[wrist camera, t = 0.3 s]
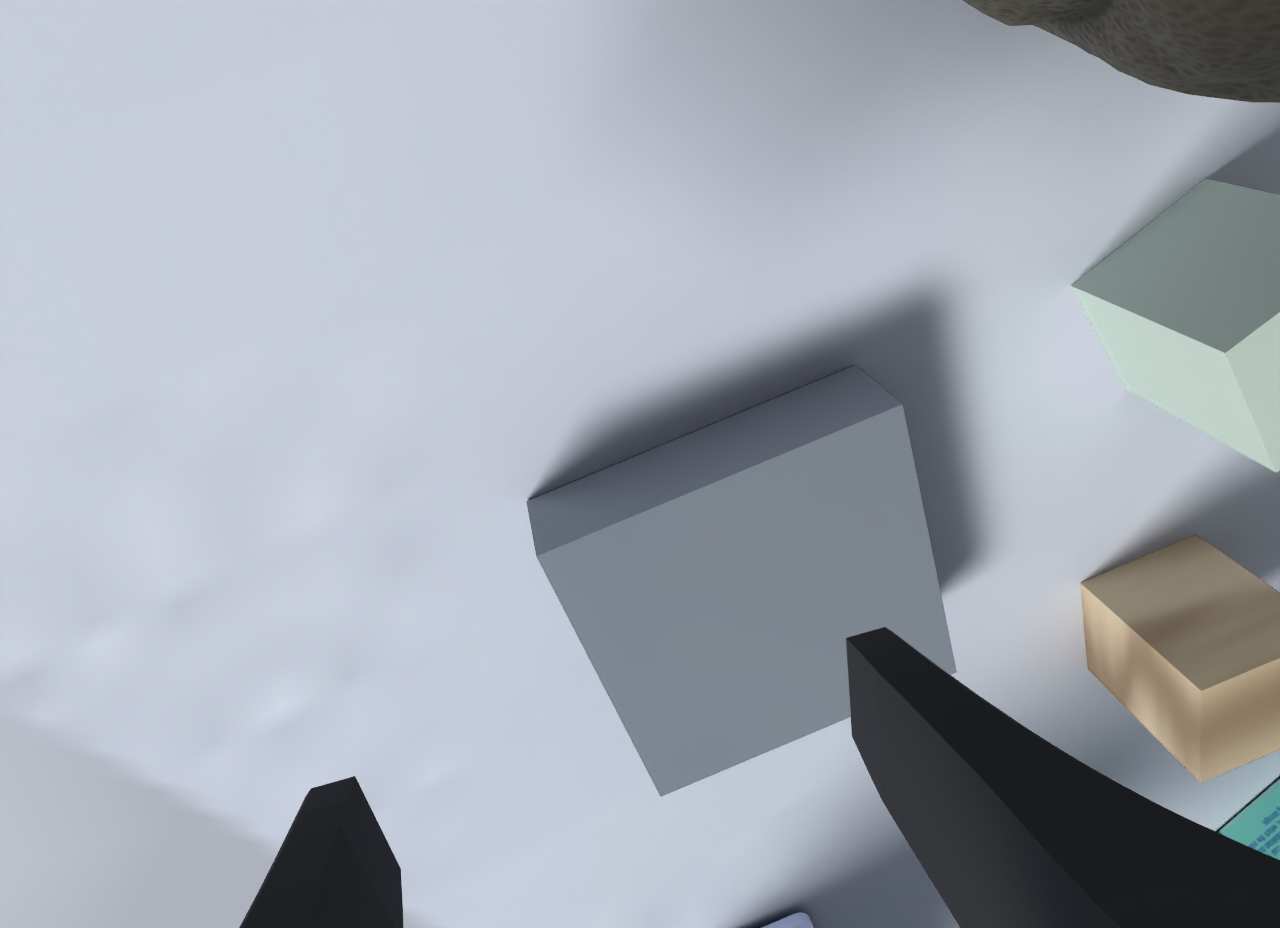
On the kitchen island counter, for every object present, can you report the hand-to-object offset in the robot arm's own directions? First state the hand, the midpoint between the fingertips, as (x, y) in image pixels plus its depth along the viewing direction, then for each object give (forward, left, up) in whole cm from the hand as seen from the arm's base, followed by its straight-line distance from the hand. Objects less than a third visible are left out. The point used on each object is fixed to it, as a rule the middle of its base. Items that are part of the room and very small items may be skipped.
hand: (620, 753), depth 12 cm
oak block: (-14, -16, -10) cm, 23 cm away
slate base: (-6, -4, -10) cm, 12 cm away
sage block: (-3, -17, -10) cm, 19 cm away
